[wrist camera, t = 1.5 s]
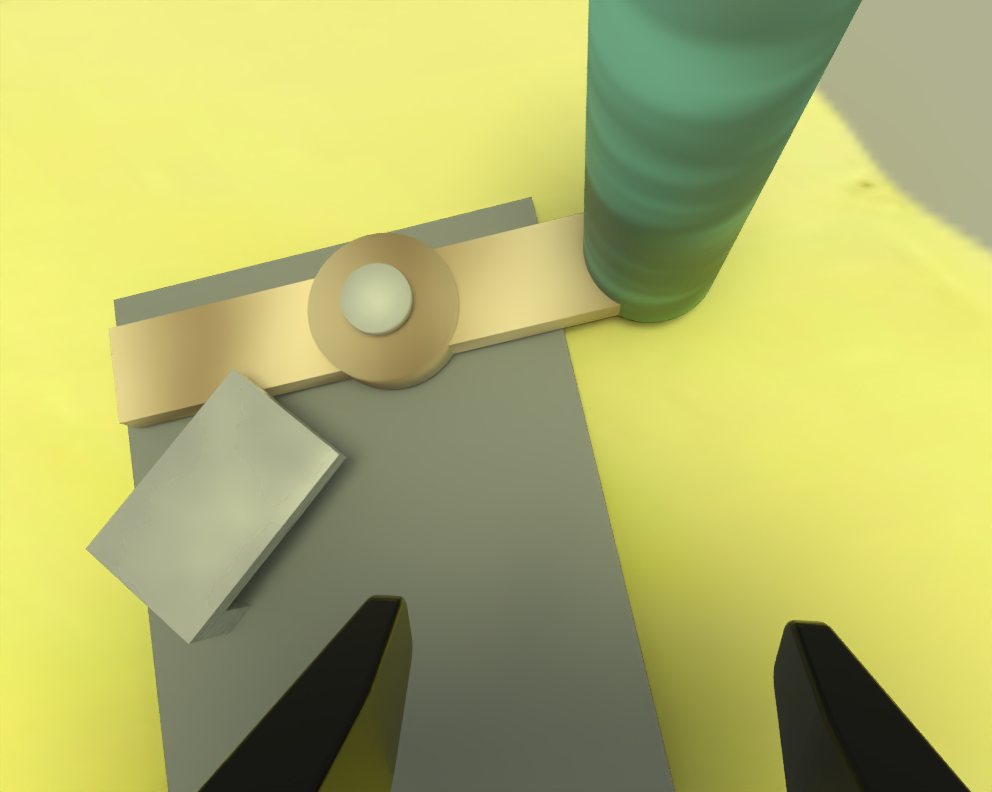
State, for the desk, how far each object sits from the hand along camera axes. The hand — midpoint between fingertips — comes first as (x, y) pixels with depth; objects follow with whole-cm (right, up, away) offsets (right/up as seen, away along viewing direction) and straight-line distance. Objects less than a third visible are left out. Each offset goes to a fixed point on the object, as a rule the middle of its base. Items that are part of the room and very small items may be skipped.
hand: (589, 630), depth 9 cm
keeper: (-9, -1, +14) cm, 16 cm away
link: (-4, +5, +15) cm, 16 cm away
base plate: (-5, -1, +14) cm, 15 cm away
